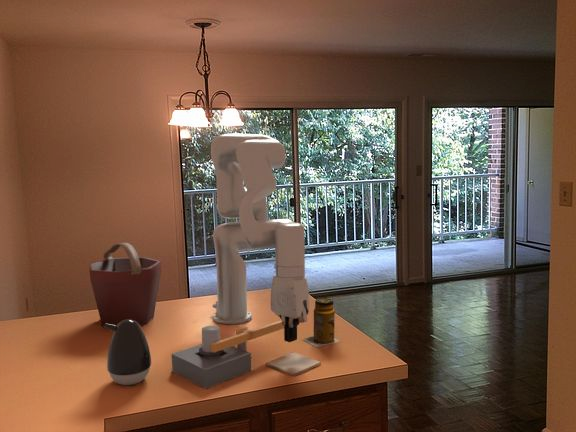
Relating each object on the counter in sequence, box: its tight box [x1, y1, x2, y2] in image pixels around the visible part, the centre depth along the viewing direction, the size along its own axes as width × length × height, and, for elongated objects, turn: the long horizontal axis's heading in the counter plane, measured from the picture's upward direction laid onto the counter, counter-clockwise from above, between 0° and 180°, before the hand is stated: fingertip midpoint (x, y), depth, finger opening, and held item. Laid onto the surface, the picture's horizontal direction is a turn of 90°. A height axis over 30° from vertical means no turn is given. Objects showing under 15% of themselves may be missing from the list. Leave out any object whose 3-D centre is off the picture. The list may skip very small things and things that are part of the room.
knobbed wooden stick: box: [211, 319, 284, 353], centre depth 139 cm, size 5×26×2 cm, turn 136°
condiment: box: [302, 297, 341, 348], centre depth 153 cm, size 7×8×12 cm
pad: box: [265, 351, 322, 377], centre depth 137 cm, size 10×10×1 cm
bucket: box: [88, 242, 162, 328], centre depth 172 cm, size 24×22×25 cm
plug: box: [199, 325, 223, 360], centre depth 132 cm, size 6×6×11 cm
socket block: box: [171, 341, 252, 390], centre depth 134 cm, size 14×20×6 cm
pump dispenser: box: [104, 319, 152, 386], centre depth 127 cm, size 10×10×15 cm
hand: (290, 340), depth 138 cm, fingers closed
